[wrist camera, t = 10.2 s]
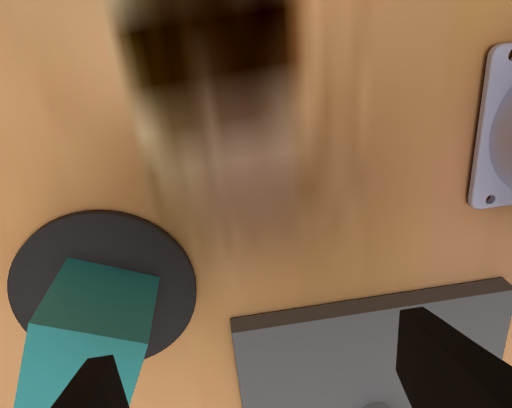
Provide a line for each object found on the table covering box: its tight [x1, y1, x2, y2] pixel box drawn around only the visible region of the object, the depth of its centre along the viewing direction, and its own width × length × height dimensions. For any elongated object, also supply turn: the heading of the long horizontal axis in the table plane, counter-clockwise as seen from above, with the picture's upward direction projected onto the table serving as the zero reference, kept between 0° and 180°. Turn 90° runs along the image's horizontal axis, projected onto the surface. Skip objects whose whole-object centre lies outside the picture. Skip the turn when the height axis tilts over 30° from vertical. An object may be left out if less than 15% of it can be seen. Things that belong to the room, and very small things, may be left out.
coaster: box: [7, 210, 196, 359], centre depth 20 cm, size 9×9×1 cm
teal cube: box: [14, 257, 160, 408], centre depth 18 cm, size 4×4×5 cm
